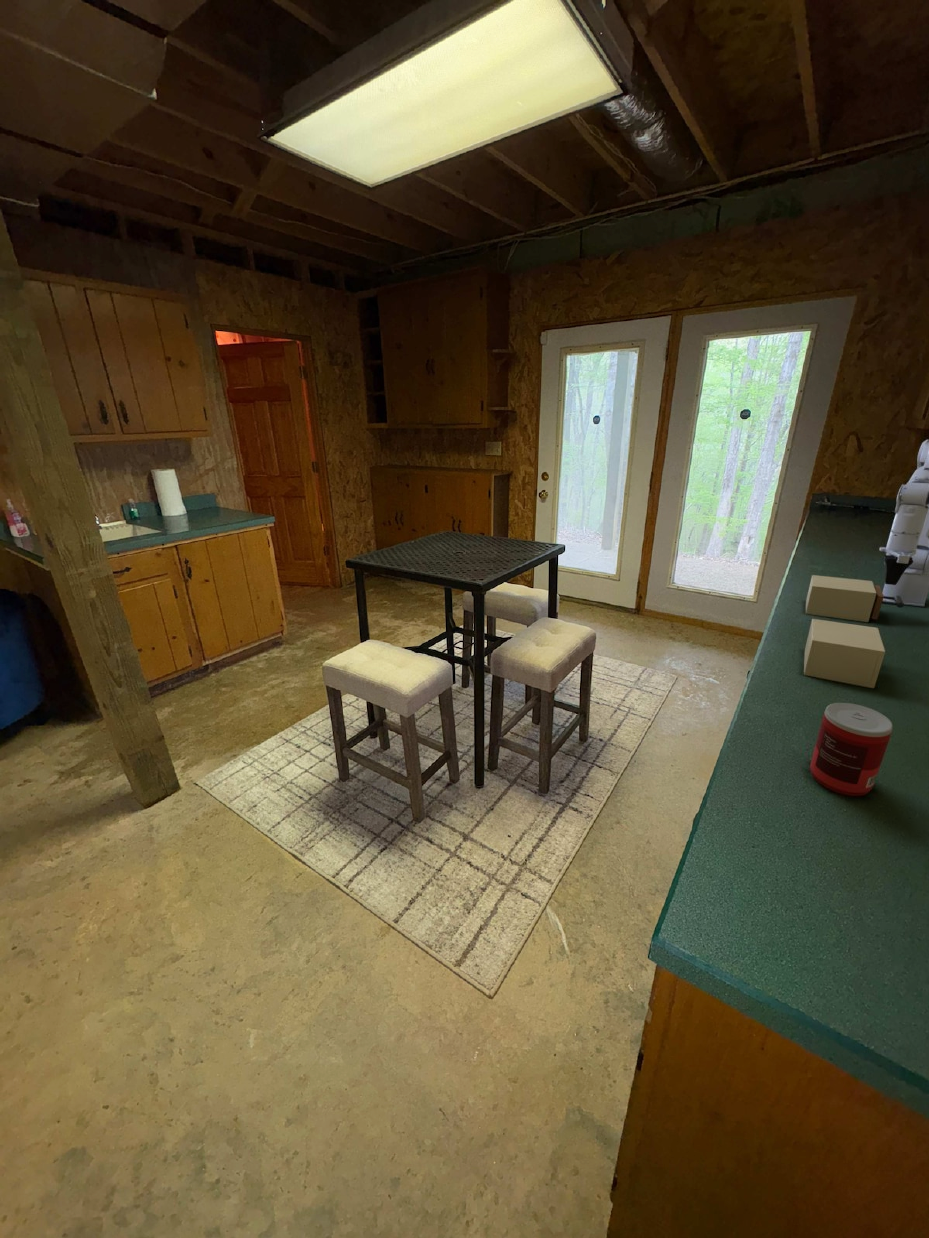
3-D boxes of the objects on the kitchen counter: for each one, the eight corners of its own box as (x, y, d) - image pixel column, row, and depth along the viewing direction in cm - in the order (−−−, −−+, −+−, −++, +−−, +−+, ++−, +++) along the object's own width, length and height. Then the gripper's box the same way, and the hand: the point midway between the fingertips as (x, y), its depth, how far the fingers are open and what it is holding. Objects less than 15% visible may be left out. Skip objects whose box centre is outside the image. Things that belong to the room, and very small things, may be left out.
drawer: (895, 610, 131) (902, 588, 129) (900, 622, 123) (908, 599, 121) (818, 600, 140) (823, 579, 138) (818, 611, 132) (824, 589, 130)
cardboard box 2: (804, 650, 112) (812, 618, 109) (867, 661, 106) (877, 627, 103) (803, 675, 102) (812, 640, 99) (874, 688, 96) (885, 651, 93)
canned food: (859, 767, 75) (879, 705, 71) (882, 802, 68) (905, 737, 64) (802, 758, 77) (817, 698, 73) (817, 792, 70) (836, 728, 66)
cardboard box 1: (864, 608, 135) (872, 581, 132) (868, 622, 126) (876, 593, 123) (806, 601, 142) (812, 575, 139) (805, 613, 133) (812, 585, 130)
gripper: (881, 525, 128) (868, 574, 133) (888, 536, 117) (873, 589, 122) (916, 527, 125) (901, 578, 130) (927, 538, 113) (910, 593, 118)
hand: (890, 583), depth 126 cm, fingers closed
